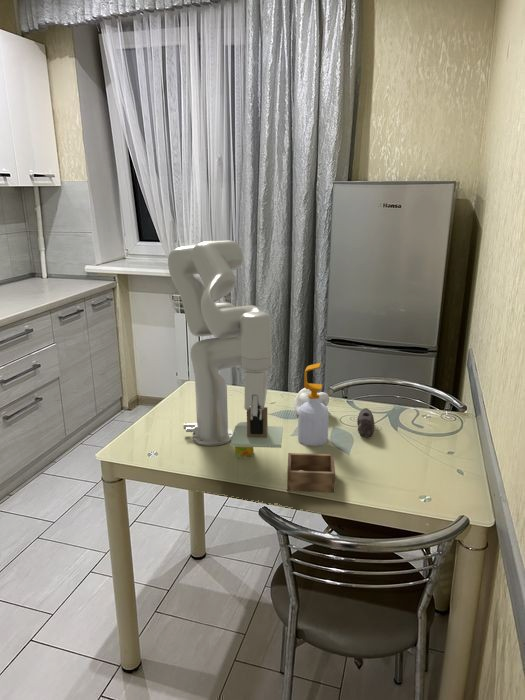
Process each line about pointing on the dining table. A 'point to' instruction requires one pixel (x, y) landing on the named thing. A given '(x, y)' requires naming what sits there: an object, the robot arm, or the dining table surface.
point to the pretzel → (303, 398)
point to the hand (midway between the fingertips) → (257, 429)
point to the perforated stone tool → (365, 423)
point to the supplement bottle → (243, 451)
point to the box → (311, 472)
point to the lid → (267, 439)
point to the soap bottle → (313, 415)
